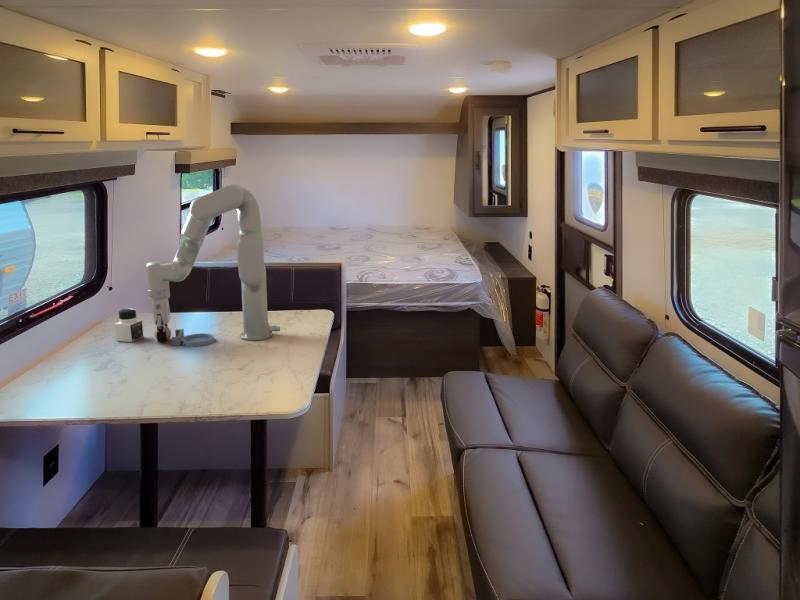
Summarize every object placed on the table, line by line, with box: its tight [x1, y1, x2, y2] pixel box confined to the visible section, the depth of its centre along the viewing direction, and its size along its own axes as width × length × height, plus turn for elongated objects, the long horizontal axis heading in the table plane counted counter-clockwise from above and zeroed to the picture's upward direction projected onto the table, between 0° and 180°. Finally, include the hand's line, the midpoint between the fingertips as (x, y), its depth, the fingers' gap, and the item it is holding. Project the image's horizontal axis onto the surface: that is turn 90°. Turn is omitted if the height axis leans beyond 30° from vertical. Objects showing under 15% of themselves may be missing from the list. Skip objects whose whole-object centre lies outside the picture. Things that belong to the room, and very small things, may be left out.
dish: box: [181, 332, 215, 347], centre depth 226 cm, size 12×12×2 cm
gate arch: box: [171, 328, 185, 346], centre depth 227 cm, size 3×12×3 cm, turn 14°
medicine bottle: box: [114, 307, 144, 343], centre depth 228 cm, size 7×7×12 cm
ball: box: [154, 326, 172, 341], centre depth 226 cm, size 6×6×6 cm
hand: (163, 338), depth 226 cm, fingers closed on ball, 6 cm apart
